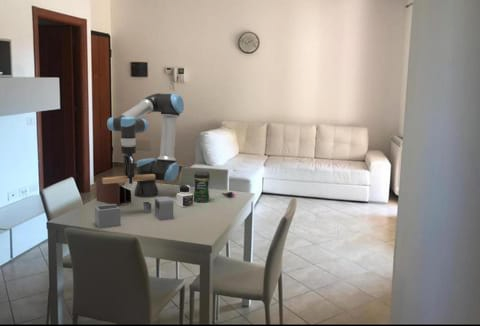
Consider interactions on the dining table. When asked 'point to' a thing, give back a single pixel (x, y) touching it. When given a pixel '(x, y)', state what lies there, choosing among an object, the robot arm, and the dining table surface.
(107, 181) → the slat
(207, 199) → the coffee jar
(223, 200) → the dining table surface
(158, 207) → the frame
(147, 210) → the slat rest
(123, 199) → the letter holder
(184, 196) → the medicine bottle
